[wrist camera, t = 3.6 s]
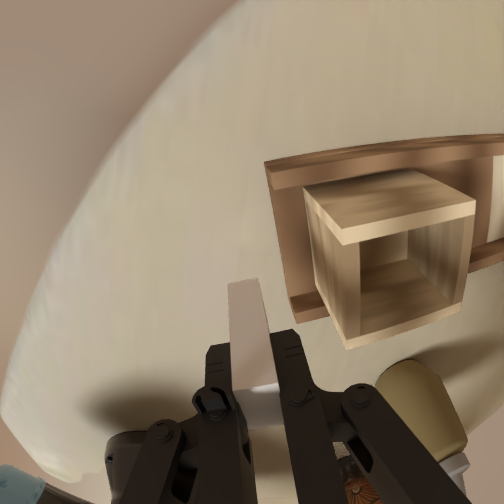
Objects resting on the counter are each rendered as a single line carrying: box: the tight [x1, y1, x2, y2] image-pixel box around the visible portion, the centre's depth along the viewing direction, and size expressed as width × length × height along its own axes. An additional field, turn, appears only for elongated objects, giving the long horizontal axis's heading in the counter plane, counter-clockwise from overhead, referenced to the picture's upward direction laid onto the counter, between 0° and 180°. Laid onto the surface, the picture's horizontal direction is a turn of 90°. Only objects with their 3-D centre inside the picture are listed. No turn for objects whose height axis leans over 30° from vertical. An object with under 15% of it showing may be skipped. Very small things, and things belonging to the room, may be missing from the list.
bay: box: [264, 134, 504, 324], centre depth 20 cm, size 30×11×5 cm, turn 101°
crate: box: [303, 168, 476, 350], centre depth 18 cm, size 8×7×7 cm
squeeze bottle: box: [375, 360, 470, 496], centre depth 23 cm, size 8×8×18 cm
